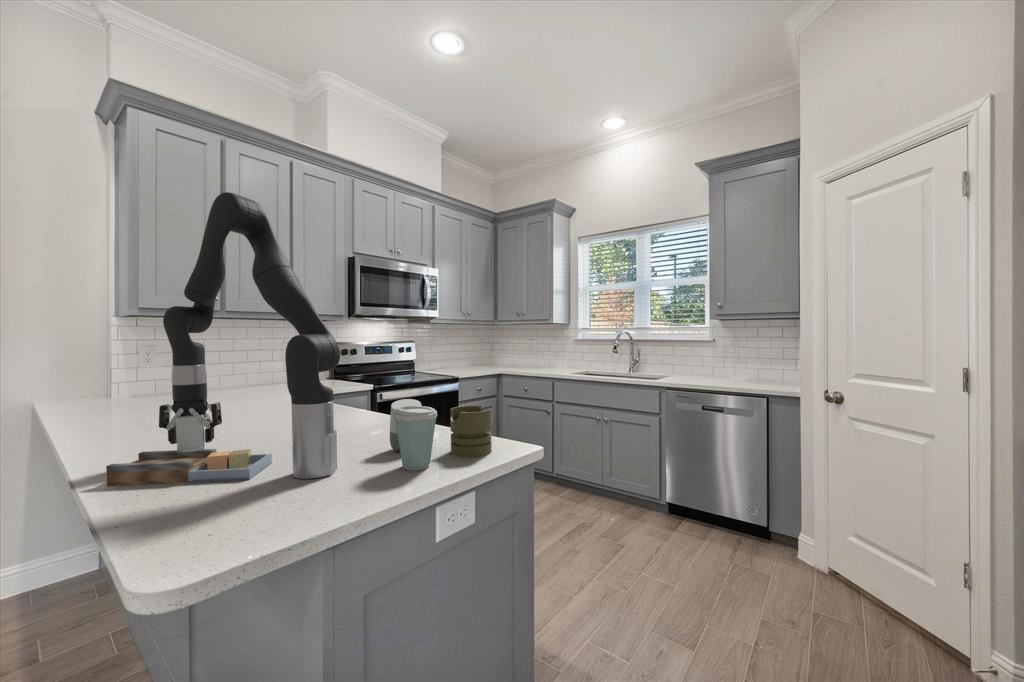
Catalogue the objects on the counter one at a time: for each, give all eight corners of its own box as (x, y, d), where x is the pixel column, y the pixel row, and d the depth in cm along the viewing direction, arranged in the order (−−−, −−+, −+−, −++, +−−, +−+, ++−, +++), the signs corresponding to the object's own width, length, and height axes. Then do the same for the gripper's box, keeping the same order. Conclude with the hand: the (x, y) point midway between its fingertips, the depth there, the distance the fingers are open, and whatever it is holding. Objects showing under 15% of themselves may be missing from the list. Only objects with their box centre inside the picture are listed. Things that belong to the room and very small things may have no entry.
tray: (271, 463, 117) (271, 453, 117) (249, 479, 104) (249, 468, 104) (217, 465, 116) (217, 456, 116) (188, 482, 103) (188, 471, 103)
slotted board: (216, 466, 115) (216, 448, 115) (189, 482, 103) (189, 462, 103) (143, 469, 113) (142, 451, 113) (107, 486, 101) (106, 466, 101)
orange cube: (231, 467, 112) (230, 450, 112) (227, 471, 109) (226, 455, 109) (212, 468, 111) (211, 452, 111) (207, 473, 107) (207, 456, 107)
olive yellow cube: (232, 466, 113) (251, 464, 114) (229, 471, 109) (248, 469, 110) (232, 450, 112) (250, 449, 114) (228, 454, 109) (248, 453, 110)
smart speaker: (388, 455, 124) (388, 404, 123) (390, 447, 133) (390, 399, 132) (424, 453, 126) (423, 402, 125) (423, 444, 135) (423, 397, 134)
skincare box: (207, 456, 124) (206, 412, 124) (204, 460, 120) (203, 415, 120) (179, 459, 122) (178, 414, 121) (176, 464, 118) (174, 417, 117)
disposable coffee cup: (433, 459, 120) (433, 402, 119) (442, 470, 110) (441, 408, 109) (392, 463, 116) (391, 405, 116) (397, 476, 106) (396, 412, 106)
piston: (461, 414, 118) (443, 408, 128) (462, 460, 119) (444, 450, 128) (498, 409, 125) (479, 404, 134) (499, 453, 125) (479, 444, 134)
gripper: (225, 379, 125) (227, 438, 125) (169, 381, 123) (171, 440, 124) (211, 382, 118) (213, 445, 118) (151, 384, 116) (153, 447, 116)
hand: (191, 442), depth 121 cm, fingers open, 8 cm apart
